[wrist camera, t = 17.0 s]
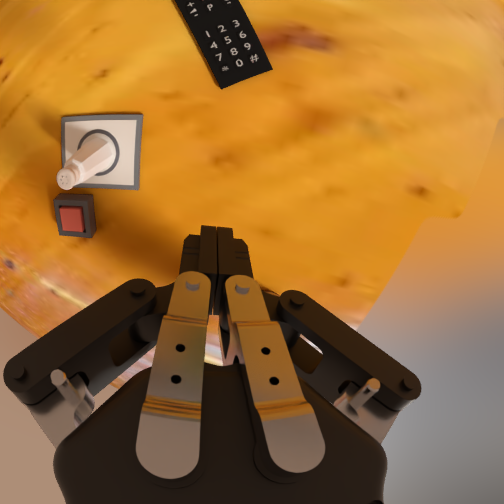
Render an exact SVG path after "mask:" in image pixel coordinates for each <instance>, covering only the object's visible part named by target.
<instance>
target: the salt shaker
mask: <svg viewBox="0 0 504 504" xmlns="http://www.w3.org/2000/svg"><path fill="white" fill-rule="evenodd" d="M112 155H113V154H112V151H111V148H110V146H109V143H108V142H106V141H104V140H102V139H100V138H98V137H97V138H95V139H93V140H91V141H89V142H87V143H86V144H84V145H83V146H82V147H81V148H80V149H79V150H78V151H77V152H76V153H75V154H74V155H72V156H71V157H70V158H69V159H68V160H67V161H66V163H65V165H64V168H63V169H61V170H60V171H59V172H58V173H57V183H58V185H59V186H60V187H61V188H62V189H64V190H69V189H71V188H72V187H73V186H75V185H77V184H80V183H82V182H84V181H85V180H87V179H89V178H90V177H92V176H93V175H95V174H96V173H98V172H100V171H101V170H103V169H105V168H106V167H108V165H109V163H110V160H111V158H112Z"/></svg>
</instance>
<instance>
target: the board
mask: <svg viewBox="0 0 504 504" xmlns="http://www.w3.org/2000/svg"><path fill="white" fill-rule="evenodd" d="M142 123H143V114H104V115H82V116H69V117H62V120H61V142H62V166H63V168H64V165H65V163H66V161H67V160H68V159H69V158H70V157H71V156H72V155H74V154H75V153H76V152H77V151H78V150H79V149H80V148H81V147H82V146H83V145H84V144H86V143H87V142H89V141H91V140H93V139H95V138H97V137H98V138H100V139H102V140H104V141H106V142H108V143H109V146H110V148H111V151H112V154H113V155H112V158H111V160H110V163H109V165H108V167H106V168H105V169H103V170H101V171H100V172H98V173H96V174H95V175H93V176H92V177H90V178H89V179H87V180H85V181H84V182H82V183H80V184H77V185H75V186H73V187H81V188H108V189H127V190H139V177H140V151H141V135H142Z"/></svg>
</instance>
